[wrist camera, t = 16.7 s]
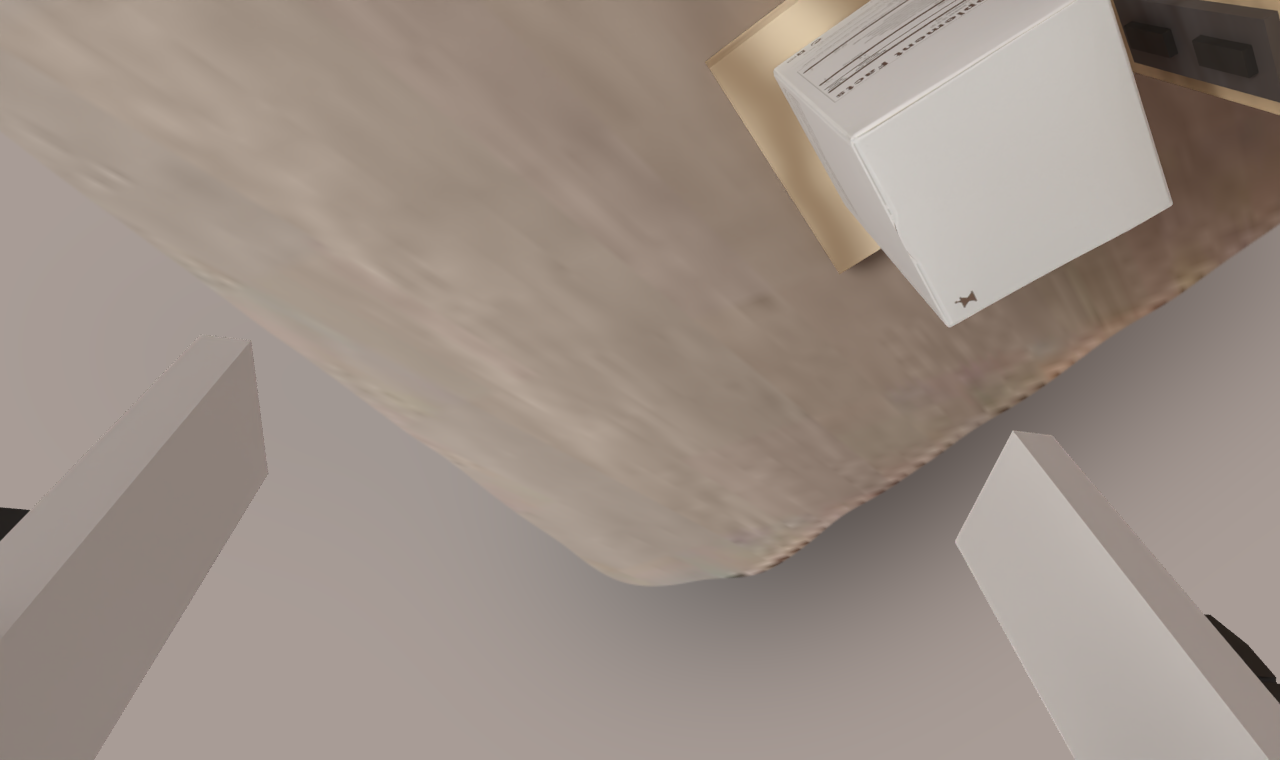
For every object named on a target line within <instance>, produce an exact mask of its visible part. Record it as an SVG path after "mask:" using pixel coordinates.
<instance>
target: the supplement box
mask: <svg viewBox="0 0 1280 760" xmlns="http://www.w3.org/2000/svg"><path fill="white" fill-rule="evenodd" d="M773 72H774V77H775V79H776V81H777V82H778V84H779V86H780V88H781V90H782V92H783V94H784V95H785V97H786V99H787V101H788V103H789V104H790V106H791V108H792V110H793V112H794V114H795V115H796V117H797V119H798V121H799V123H800V125H801V126H802V128H803V130H804V132H805V134H806V136H807V137H808V139H809V141H810V143H811V145H812V146H813V148H814V150H815V152H816V154H817V156H818V157H819V159H820V161H821V163H822V165H823V166H824V168H825V170H826V172H827V174H828V176H829V177H830V179H831V181H832V183H833V185H834V186H835V188H836V190H837V192H838V194H839V195H840V197H841V199H842V201H843V203H844V204H845V206H846V207H847V208H848V210H849V211H850V212H851V213H852V214H853V215H854V217H855V218H856V219H857V220H858V221H859V223H860V224H861V225H862V226H863V227H864V229H865V230H866V231H867V232H868V233H869V235H870V236H871V237H872V238H873V239H874V240H875V242H876V243H877V244H878V245H879V246H880V248H881V249H882V250H883V251H884V252H885V254H886V255H887V256H888V257H889V258H890V259H891V261H892V262H893V263H894V264H895V265H896V267H897V268H898V269H899V270H900V271H901V273H902V274H903V275H904V276H905V277H906V278H907V280H908V281H909V282H910V283H911V284H912V286H913V287H914V288H915V289H916V290H917V292H918V293H919V294H920V295H921V296H922V297H923V299H924V300H925V301H926V302H927V303H928V305H929V306H930V307H931V308H932V309H933V310H934V312H935V313H936V314H937V315H938V316H939V317H940V319H941V320H942V321H943V322H944V323H945V325H946V326H948V327H952V326H954V325H956V324H958V323H960V322H961V321H963V320H965V319H966V318H968V317H970V316H972V315H973V314H975V313H977V312H979V311H980V310H982V309H984V308H986V307H987V306H989V305H991V304H993V303H995V302H996V301H998V300H1000V299H1002V298H1004V297H1005V296H1007V295H1009V294H1011V293H1013V292H1014V291H1016V290H1018V289H1020V288H1022V287H1024V286H1025V285H1027V284H1029V283H1031V282H1033V281H1034V280H1036V279H1038V278H1040V277H1042V276H1044V275H1045V274H1047V273H1049V272H1051V271H1053V270H1055V269H1056V268H1058V267H1060V266H1062V265H1064V264H1066V263H1068V262H1069V261H1071V260H1073V259H1075V258H1077V257H1079V256H1081V255H1083V254H1085V253H1087V252H1089V251H1090V250H1092V249H1094V248H1096V247H1098V246H1100V245H1102V244H1104V243H1106V242H1108V241H1109V240H1111V239H1113V238H1115V237H1117V236H1119V235H1121V234H1123V233H1125V232H1127V231H1129V230H1130V229H1132V228H1134V227H1136V226H1137V225H1139V224H1141V223H1143V222H1144V221H1146V220H1148V219H1150V218H1151V217H1153V216H1155V215H1157V214H1158V213H1160V212H1162V211H1164V210H1165V209H1167V208H1169V207H1170V206H1172V204H1173V202H1172V199H1171V196H1170V192H1169V189H1168V186H1167V183H1166V179H1165V176H1164V173H1163V169H1162V166H1161V163H1160V160H1159V156H1158V153H1157V150H1156V147H1155V143H1154V140H1153V137H1152V134H1151V130H1150V127H1149V124H1148V121H1147V117H1146V114H1145V111H1144V108H1143V104H1142V101H1141V98H1140V94H1139V91H1138V88H1137V85H1136V81H1135V78H1134V75H1133V71H1132V68H1131V65H1130V61H1129V58H1128V55H1127V52H1126V49H1125V45H1124V42H1123V39H1122V36H1121V33H1120V30H1119V27H1118V23H1117V20H1116V17H1115V14H1114V11H1113V7H1112V4H1111V1H1110V0H871V1H869V2H868V3H866V4H865V5H864V6H862V7H861V8H859V9H858V10H856V11H855V12H854V13H852V14H851V15H849V16H848V17H847V18H845V19H844V20H842V21H841V22H839V23H838V24H837V25H835V26H834V27H832V28H831V29H829V30H828V31H827V32H825V33H824V34H822V35H821V36H819V37H818V38H817V39H815V40H814V41H812V42H811V43H810V44H808V45H807V46H805V47H804V48H802V49H801V50H800V51H798V52H797V53H795V54H794V55H792V56H791V57H790V58H788V59H787V60H785V61H784V62H783V63H781V64H780V65H778V66H777V67H776V68H775V69H774V71H773Z"/></svg>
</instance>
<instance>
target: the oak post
mask: <svg viewBox="0 0 1280 760" xmlns="http://www.w3.org/2000/svg"><path fill="white" fill-rule="evenodd" d="M1110 1H1111V4H1112V7H1113V11H1114V14H1115V17H1116V20H1117V23H1118V27H1119V30H1120V33H1121V36H1122V39H1123V42H1124V45H1125V49H1126V52H1127V55H1128V58H1129V61H1130V65H1131V68H1132V71H1133V72H1135V73H1139V74H1142V75H1146V76H1149V77H1152V78H1156V79H1159V80H1162V81H1166V82H1169V83H1173V84H1176V85H1179V86H1183V87H1186V88H1189V89H1193V90H1196V91H1200V92H1203V93H1206V94H1210V95H1213V96H1216V97H1220V98H1223V99H1227V100H1230V101H1233V102H1237V103H1240V104H1243V105H1247V106H1250V107H1254V108H1257V109H1260V110H1264V111H1267V112H1271V113H1274V114H1277V115H1280V0H1110Z"/></svg>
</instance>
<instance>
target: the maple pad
mask: <svg viewBox="0 0 1280 760" xmlns="http://www.w3.org/2000/svg"><path fill="white" fill-rule="evenodd" d="M869 1H871V0H786V1H784V2H783V3H782V4H780V5H779V6H778V7H776V8H775V9H774V10H773V11H771V12H770V13H769V14H767V15H766V16H765V17H763V18H762V19H761V20H759V21H758V22H757V23H755V24H754V25H753V26H752V27H750V28H749V29H748V30H746V31H745V32H744V33H742V34H741V35H740V36H738V37H737V38H736V39H735V40H733V41H732V42H731V43H729V44H728V45H727V46H725V47H724V48H723V49H721V50H720V51H719V52H717V53H716V54H715V55H714V56H712V57H711V58H710V59H708V60H707V61H706V62H705V63H706V64H707V66H708V67H709V69H710V71H711V72H712V74H713V75H714V77H715V78H716V80H717V82H718V83H719V85H720V86H721V88H722V89H723V91H724V93H725V94H726V96H727V97H728V99H729V101H730V102H731V104H732V105H733V107H734V108H735V110H736V112H737V113H738V115H739V116H740V118H741V119H742V121H743V123H744V124H745V126H746V127H747V129H748V130H749V132H750V134H751V135H752V137H753V138H754V140H755V142H756V143H757V145H758V146H759V148H760V149H761V151H762V153H763V154H764V156H765V157H766V159H767V160H768V162H769V164H770V165H771V167H772V168H773V170H774V172H775V173H776V175H777V176H778V178H779V179H780V181H781V183H782V184H783V186H784V187H785V189H786V190H787V192H788V194H789V195H790V197H791V198H792V200H793V202H794V203H795V205H796V206H797V208H798V209H799V211H800V213H801V214H802V216H803V217H804V219H805V220H806V222H807V224H808V225H809V227H810V228H811V230H812V231H813V233H814V235H815V236H816V238H817V239H818V241H819V243H820V244H821V246H822V247H823V249H824V250H825V252H826V254H827V255H828V257H829V258H830V260H831V261H832V263H833V265H834V266H835V268H836V269H837V271H838V272H839V274H841V273H843V272H844V271H846V270H847V269H849V268H851V267H852V266H854V265H855V264H857V263H859V262H860V261H862V260H863V259H865V258H867V257H868V256H870V255H871V254H873V253H875V252H876V251H878V250H879V249H881V248H880V246H879V245H878V244H877V243H876V242H875V240H874V239H873V238H872V237H871V236H870V235H869V233H868V232H867V231H866V230H865V229H864V227H863V226H862V225H861V224H860V223H859V221H858V220H857V219H856V218H855V217H854V215H853V214H852V213H851V212H850V211H849V210H848V208H847V207H846V206H845V204H844V203H843V201H842V199H841V197H840V195H839V194H838V192H837V190H836V188H835V186H834V185H833V183H832V181H831V179H830V177H829V176H828V174H827V172H826V170H825V168H824V166H823V165H822V163H821V161H820V159H819V157H818V156H817V154H816V152H815V150H814V148H813V146H812V145H811V143H810V141H809V139H808V137H807V136H806V134H805V132H804V130H803V128H802V126H801V125H800V123H799V121H798V119H797V117H796V115H795V114H794V112H793V110H792V108H791V106H790V104H789V103H788V101H787V99H786V97H785V95H784V94H783V92H782V90H781V88H780V86H779V84H778V82H777V81H776V79H775V77H774V72H773V71H774V69H775V68H776V67H777V66H778V65H780V64H781V63H783V62H784V61H785V60H787V59H788V58H790V57H791V56H792V55H794V54H795V53H797V52H798V51H800V50H801V49H802V48H804V47H805V46H807V45H808V44H810V43H811V42H812V41H814V40H815V39H817V38H818V37H819V36H821V35H822V34H824V33H825V32H827V31H828V30H829V29H831V28H832V27H834V26H835V25H837V24H838V23H839V22H841V21H842V20H844V19H845V18H847V17H848V16H849V15H851V14H852V13H854V12H855V11H856V10H858V9H859V8H861V7H862V6H864V5H865V4H866V3H868V2H869Z"/></svg>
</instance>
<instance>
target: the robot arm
mask: <svg viewBox="0 0 1280 760" xmlns="http://www.w3.org/2000/svg"><path fill="white" fill-rule="evenodd" d="M267 475H268V469H267V461H266V453H265V446H264V438H263V430H262V422H261V414H260V406H259V399H258V390H257V383H256V375H255V367H254V359H253V351H252V343H251V340H243V339H235V338H226V337H218V336H210V335H200V336H199V337H198V338H197V339H196V340H195V341H194V342H193V343H192V344H191V345H190V346H189V347H188V348H187V349H186V350H185V351H184V352H183V353H182V355H180V356H179V357H178V358H177V360H175V362H174V363H173V364H172V365H171V366H170V367H169V368H168V369H167V370H166V371H165V372H164V373H163V374H162V375H161V376H160V377H159V378H158V379H157V380H156V381H155V382H154V383H153V384H152V385H151V386H150V387H149V388H148V389H147V390H146V391H145V392H144V394H143V395H142V396H141V397H140V398H139V399H138V400H137V401H136V402H135V403H134V404H133V405H132V406H131V407H130V408H129V409H128V410H127V411H126V412H125V413H124V414H123V415H122V416H121V417H120V418H119V419H118V420H117V421H116V422H115V423H114V425H113V426H112V427H111V428H110V429H109V430H108V431H107V432H106V433H105V434H104V435H103V436H102V437H101V438H100V439H99V440H98V441H97V442H96V443H95V444H94V445H93V446H92V447H91V448H90V449H89V450H88V451H87V452H86V453H85V455H83V456H82V457H81V459H80V460H79V461H78V462H77V463H76V464H75V465H74V466H73V467H72V468H71V469H70V470H69V471H68V472H67V473H66V474H65V475H64V476H63V477H62V478H61V479H60V480H59V481H58V482H57V483H56V484H55V485H54V486H53V487H52V489H50V491H48V493H47V494H46V495H45V496H44V497H43V498H42V499H41V500H40V501H39V502H38V503H37V504H36V505H35V506H34V507H33V508H32V509H31V510H23V509H11V508H0V760H94V759H95V757H96V756H97V754H98V752H99V751H100V749H101V747H102V746H103V744H104V742H105V741H106V739H107V737H108V736H109V734H110V733H111V731H112V729H113V728H114V726H115V724H116V723H117V721H118V720H119V718H120V716H121V715H122V713H123V711H124V710H125V708H126V706H127V705H128V703H129V701H130V700H131V698H132V696H133V695H134V693H135V692H136V690H137V688H138V687H139V685H140V683H141V682H142V680H143V678H144V677H145V675H146V674H147V671H148V670H149V669H150V667H151V665H152V664H153V662H154V660H155V659H156V657H157V655H158V653H159V652H160V651H161V649H162V647H163V646H164V644H165V642H166V641H167V639H168V637H169V636H170V634H171V632H172V631H173V629H174V628H175V626H176V624H177V622H178V621H179V619H180V618H181V616H182V614H183V613H184V611H185V609H186V608H187V606H188V605H189V603H190V601H191V600H192V598H193V596H194V595H195V593H196V591H197V590H198V588H199V586H200V585H201V583H202V582H203V580H204V578H205V576H206V575H207V573H208V572H209V570H210V568H211V567H212V565H213V563H214V562H215V560H216V558H217V557H218V555H219V554H220V552H221V550H222V548H223V547H224V545H225V543H226V542H227V540H228V539H229V537H230V535H231V534H232V532H233V531H234V529H235V527H236V526H237V524H238V522H239V521H240V519H241V517H242V515H243V514H244V513H245V511H246V509H247V508H248V506H249V504H250V503H251V501H252V499H253V498H254V496H255V494H256V493H257V491H258V489H259V488H260V486H261V485H262V483H263V481H264V480H265V478H266V476H267ZM955 543H956V545H957V547H958V548H959V550H960V552H961V554H962V556H963V557H964V559H965V561H966V563H967V565H968V567H969V568H970V570H971V572H972V574H973V576H974V578H975V579H976V581H977V583H978V585H979V587H980V588H981V590H982V592H983V594H984V596H985V598H986V599H987V601H988V603H989V605H990V606H991V609H992V610H993V612H994V614H995V616H996V618H997V619H998V621H999V623H1000V625H1001V627H1002V629H1003V630H1004V632H1005V634H1006V636H1007V638H1008V640H1009V641H1010V643H1011V645H1012V647H1013V649H1014V650H1015V652H1016V654H1017V656H1018V658H1019V660H1020V661H1021V663H1022V665H1023V667H1024V669H1025V670H1026V672H1027V674H1028V676H1029V678H1030V680H1031V681H1032V683H1033V685H1034V687H1035V689H1036V691H1037V692H1038V694H1039V696H1040V698H1041V699H1042V701H1043V703H1044V705H1045V707H1046V709H1047V710H1048V712H1049V714H1050V716H1051V718H1052V720H1053V722H1054V723H1055V725H1056V727H1057V729H1058V731H1059V732H1060V734H1061V736H1062V738H1063V740H1064V741H1065V743H1066V745H1067V747H1068V749H1069V751H1070V752H1071V754H1072V756H1073V758H1074V760H1280V684H1277V682H1276V677H1275V676H1274V675H1273V673H1272V672H1271V671H1270V670H1269V669H1268V668H1267V666H1266V665H1265V664H1264V663H1263V662H1262V661H1261V660H1260V658H1259V657H1258V656H1257V655H1256V654H1255V653H1254V651H1253V650H1252V649H1251V648H1250V647H1249V646H1248V645H1247V644H1246V643H1245V642H1243V641H1242V640H1241V639H1240V638H1239V637H1237V636H1236V635H1235V634H1234V633H1232V632H1231V631H1230V630H1228V629H1227V628H1226V627H1225V626H1223V625H1222V624H1221V623H1220V622H1218V621H1217V620H1216V619H1215V618H1214V617H1212V616H1211V615H1205V614H1203V613H1202V612H1201V610H1200V609H1199V608H1198V607H1197V606H1196V605H1195V603H1194V602H1193V601H1192V600H1191V599H1190V597H1189V596H1188V595H1187V594H1186V593H1185V592H1184V590H1183V589H1182V588H1181V587H1180V586H1179V584H1178V583H1177V582H1176V581H1175V580H1174V579H1173V577H1172V576H1171V575H1170V574H1169V573H1168V572H1167V570H1166V569H1165V568H1164V567H1163V566H1162V564H1161V563H1160V562H1159V561H1158V560H1157V559H1156V557H1155V556H1154V555H1153V554H1152V553H1151V551H1150V550H1149V549H1148V548H1147V547H1146V546H1145V544H1144V543H1143V542H1142V541H1141V540H1140V538H1138V536H1137V535H1136V534H1135V532H1134V531H1133V530H1132V529H1131V528H1130V527H1129V525H1128V524H1127V523H1126V522H1125V521H1124V519H1123V518H1122V517H1121V516H1120V515H1119V514H1118V512H1117V511H1116V510H1115V509H1114V508H1113V507H1112V505H1111V504H1110V503H1109V502H1108V501H1107V500H1106V498H1105V497H1104V496H1103V495H1102V494H1101V492H1100V491H1099V490H1098V489H1097V488H1096V486H1095V485H1094V484H1093V483H1092V482H1091V481H1090V479H1089V478H1088V477H1087V476H1086V475H1085V474H1084V472H1083V471H1082V470H1081V469H1080V468H1079V466H1078V465H1077V464H1076V463H1075V462H1074V460H1073V459H1072V458H1071V457H1070V456H1069V455H1068V453H1067V452H1066V451H1065V450H1064V449H1063V447H1061V445H1060V444H1059V443H1058V442H1057V440H1056V439H1055V438H1054V437H1053V436H1052V435H1047V434H1038V433H1030V432H1021V431H1012V433H1011V435H1010V437H1009V439H1008V441H1007V443H1006V445H1005V446H1004V448H1003V450H1002V452H1001V454H1000V456H999V458H998V460H997V462H996V464H995V466H994V467H993V469H992V471H991V473H990V475H989V477H988V479H987V481H986V483H985V485H984V487H983V489H982V490H981V492H980V494H979V496H978V498H977V500H976V502H975V504H974V506H973V508H972V510H971V512H970V514H969V515H968V517H967V519H966V521H965V523H964V525H963V527H962V529H961V531H960V533H959V535H958V536H957V539H956V540H955Z"/></svg>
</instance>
